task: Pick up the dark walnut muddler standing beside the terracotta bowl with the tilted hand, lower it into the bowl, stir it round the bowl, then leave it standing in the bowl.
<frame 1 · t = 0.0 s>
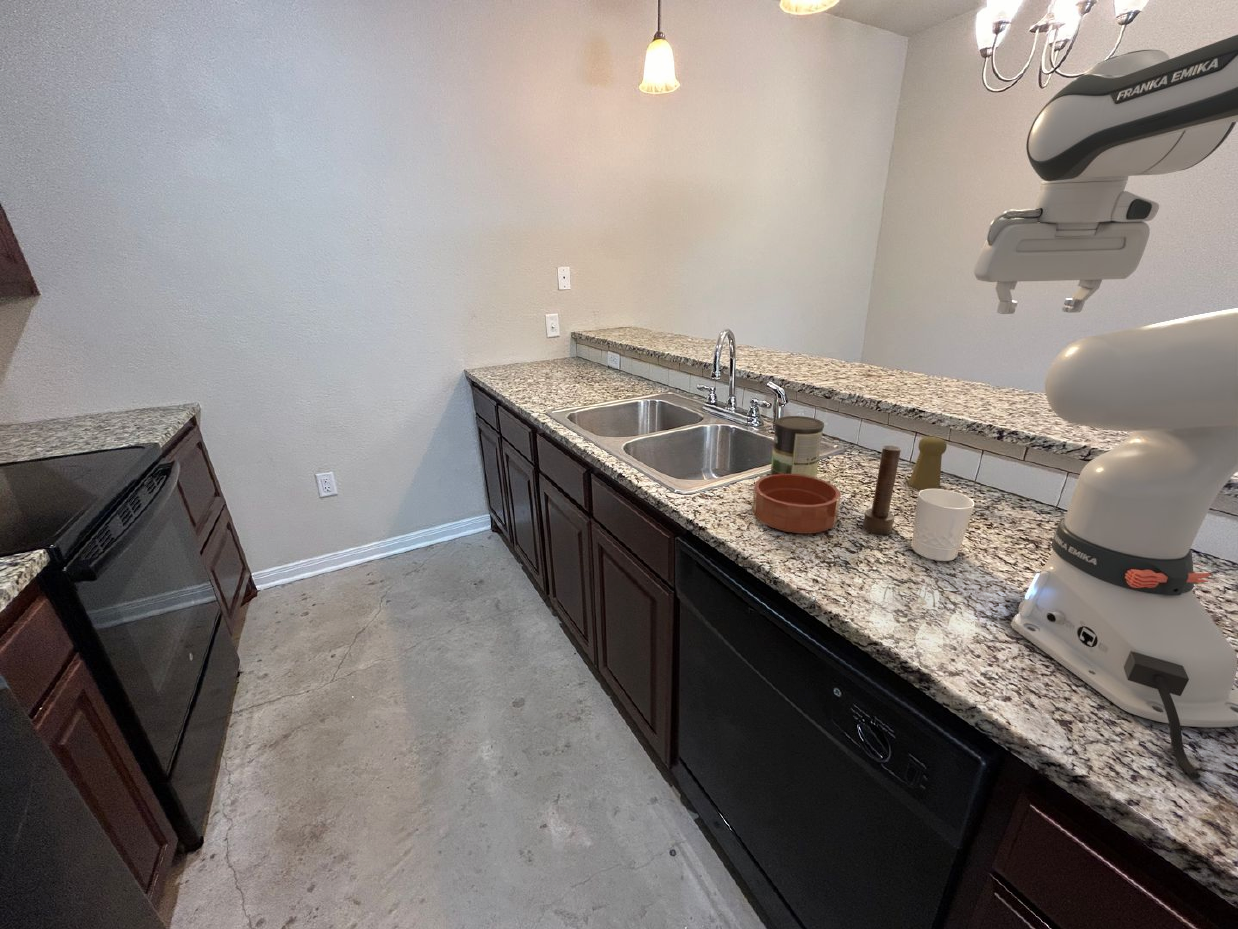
hand: (1037, 312, 74), 39 cm above the countertop, tool pointing down, fingers open, 8 cm apart
muddler: (876, 528, 93), on the countertop
bowl: (793, 516, 98), on the countertop
pepper grinder: (923, 486, 111), on the countertop
coffee can: (792, 481, 115), on the countertop
white cup: (933, 552, 85), on the countertop
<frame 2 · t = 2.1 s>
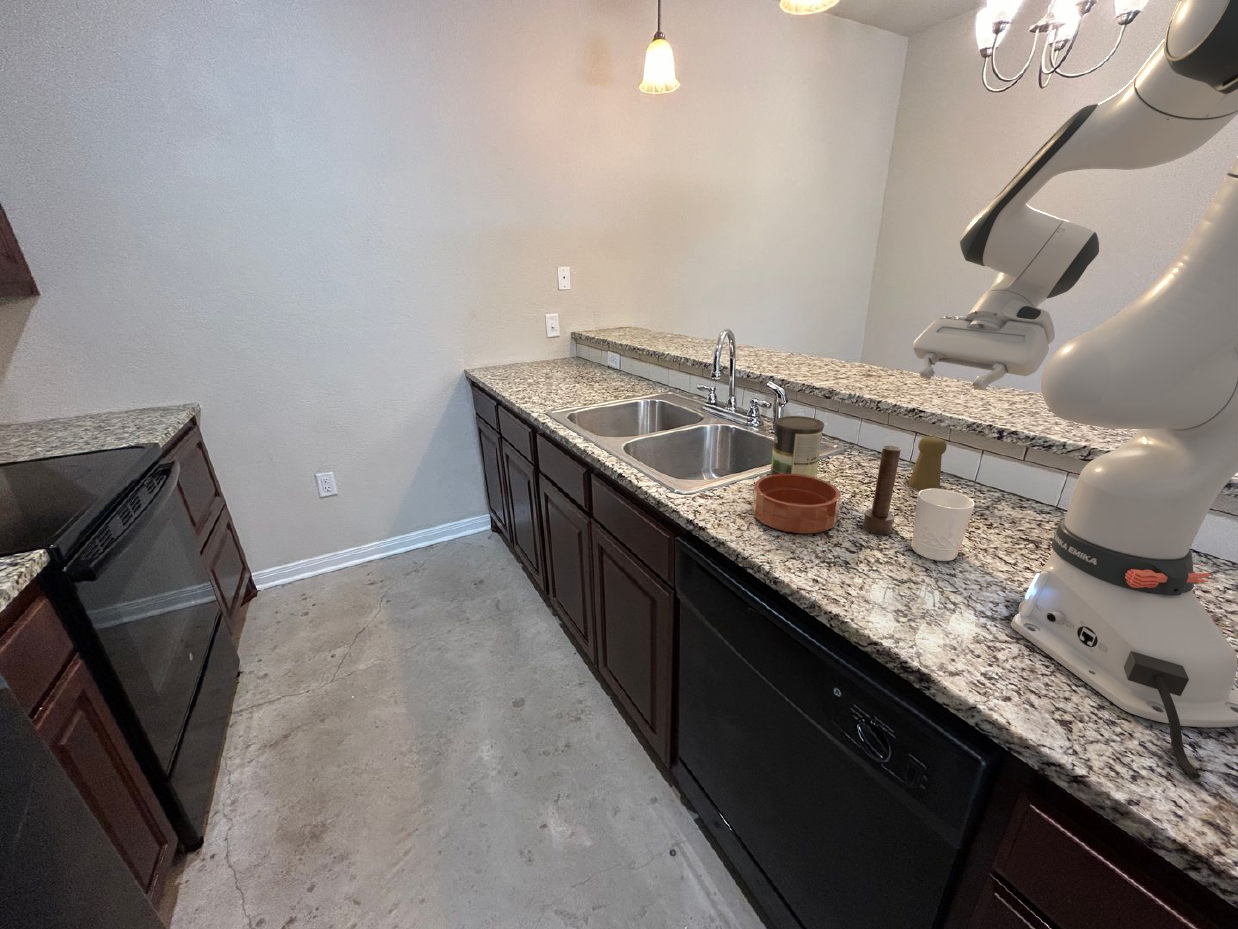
hand: (949, 382, 88), 26 cm above the countertop, tool tilted 45°, fingers open, 8 cm apart
nothing on the countertop moved.
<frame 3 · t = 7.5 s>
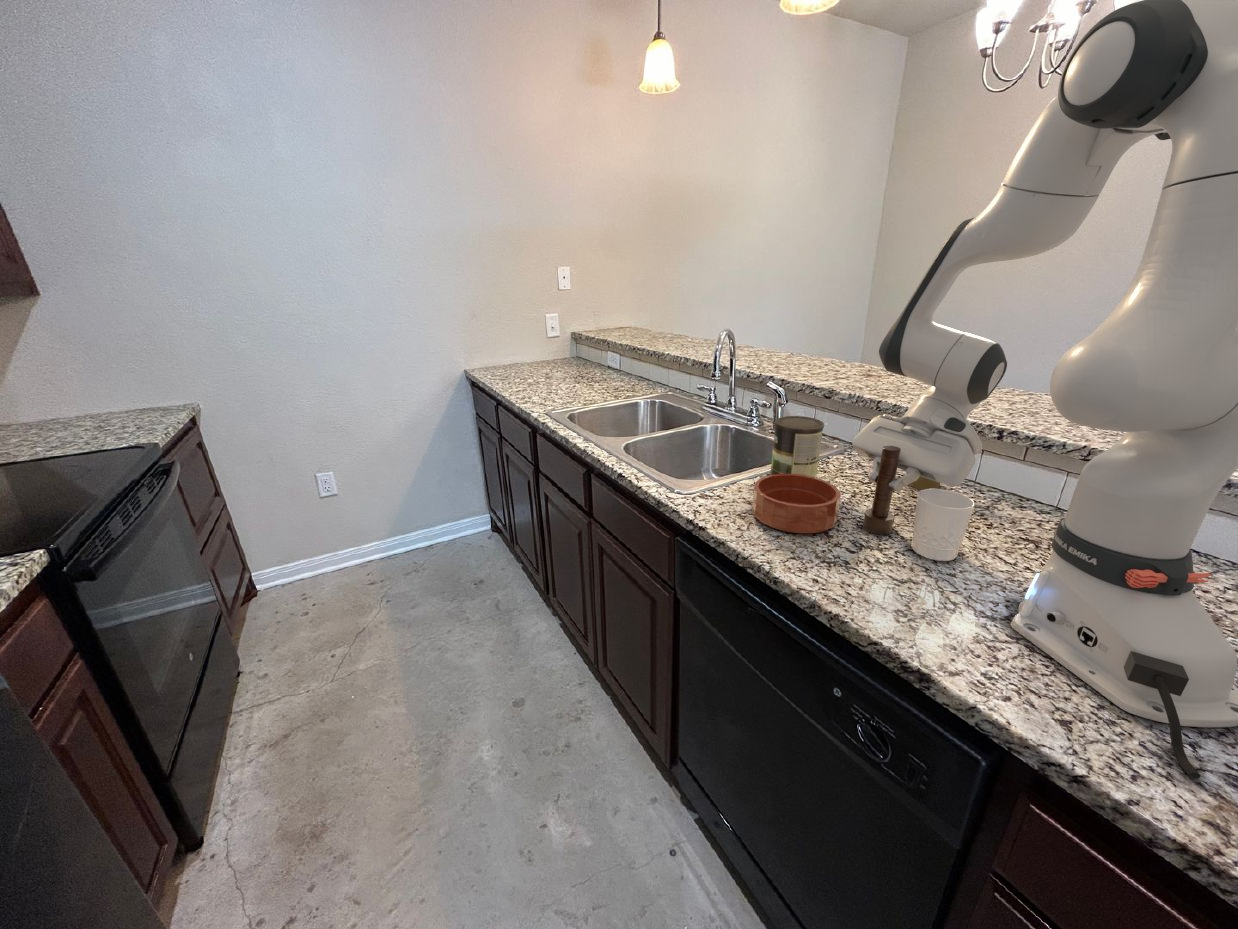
hand: (882, 485, 89), 9 cm above the countertop, tool tilted 45°, fingers closed on muddler, 3 cm apart
muddler: (876, 528, 93), on the countertop, touching gripper
everything else where it was.
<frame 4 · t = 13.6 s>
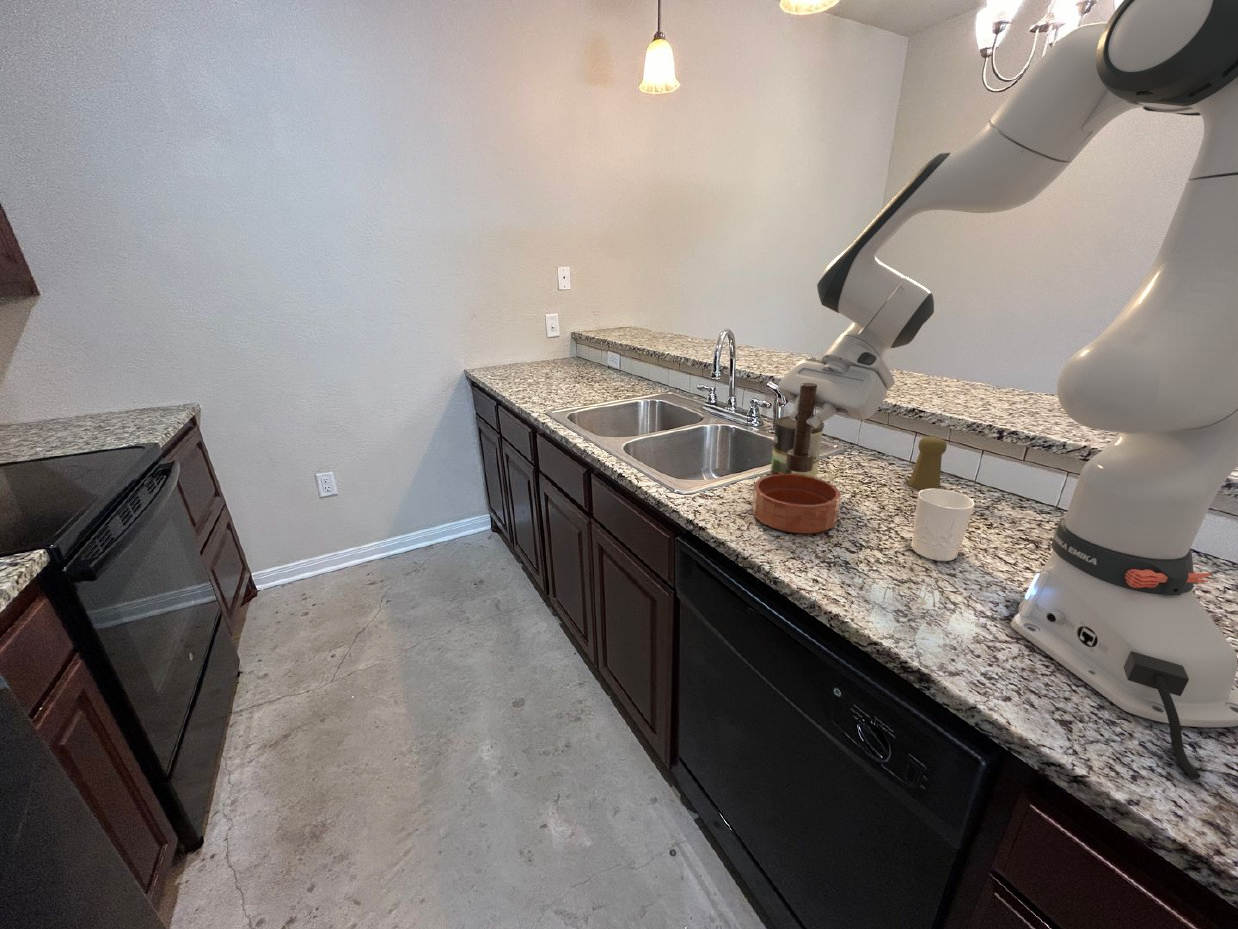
hand: (801, 422, 91), 19 cm above the countertop, tool tilted 45°, fingers closed on muddler, 3 cm apart
muddler: (799, 467, 95), point 10 cm above the countertop, touching gripper
everything else where it was.
when the fingers open (10 cm above the countertop, at t = 20.0 s): muddler stays where it is, resting on bowl.
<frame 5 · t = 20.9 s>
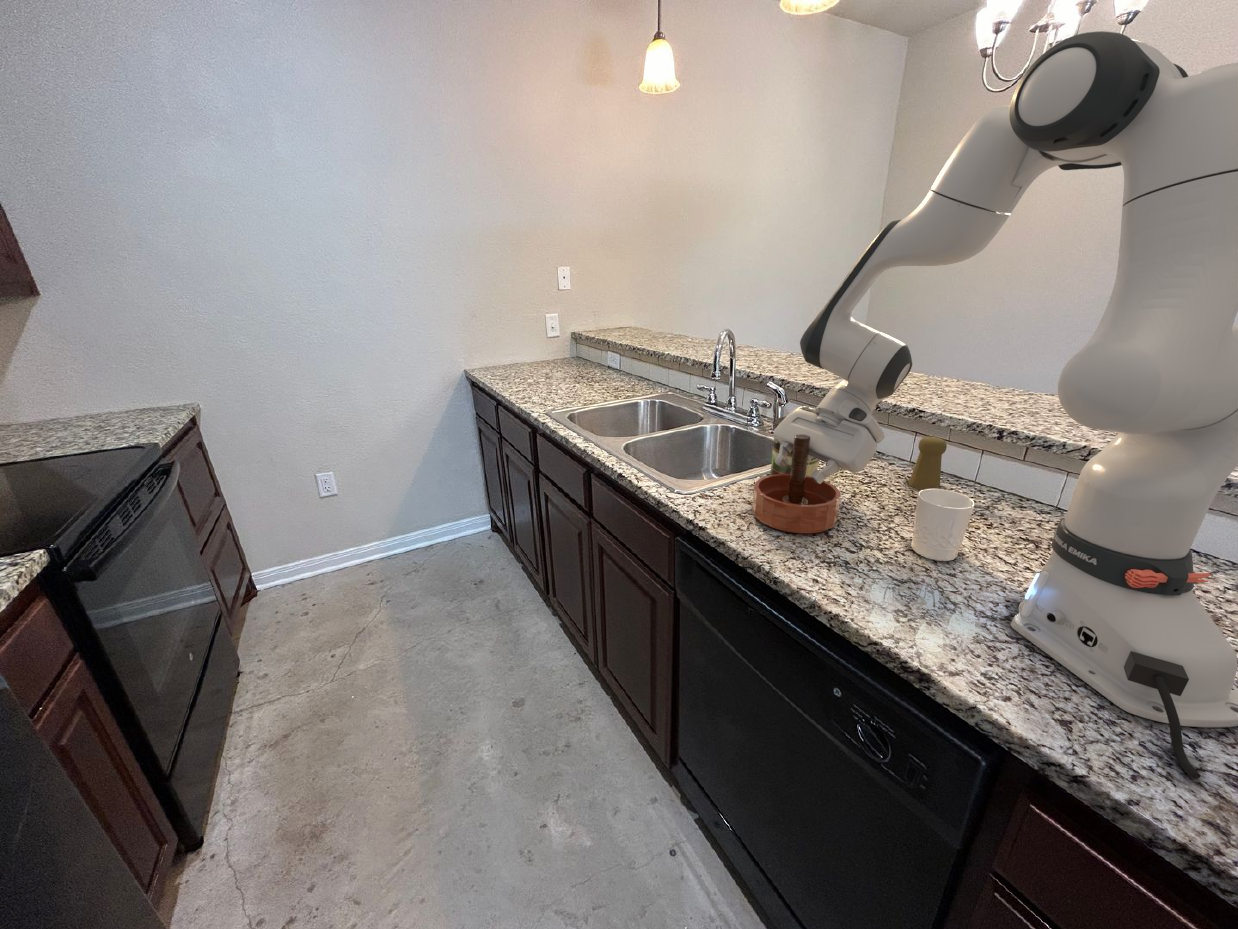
hand: (795, 472, 94), 10 cm above the countertop, tool tilted 45°, fingers open, 8 cm apart
muddler: (793, 513, 98), point 1 cm above the countertop, touching bowl
everything else where it was.
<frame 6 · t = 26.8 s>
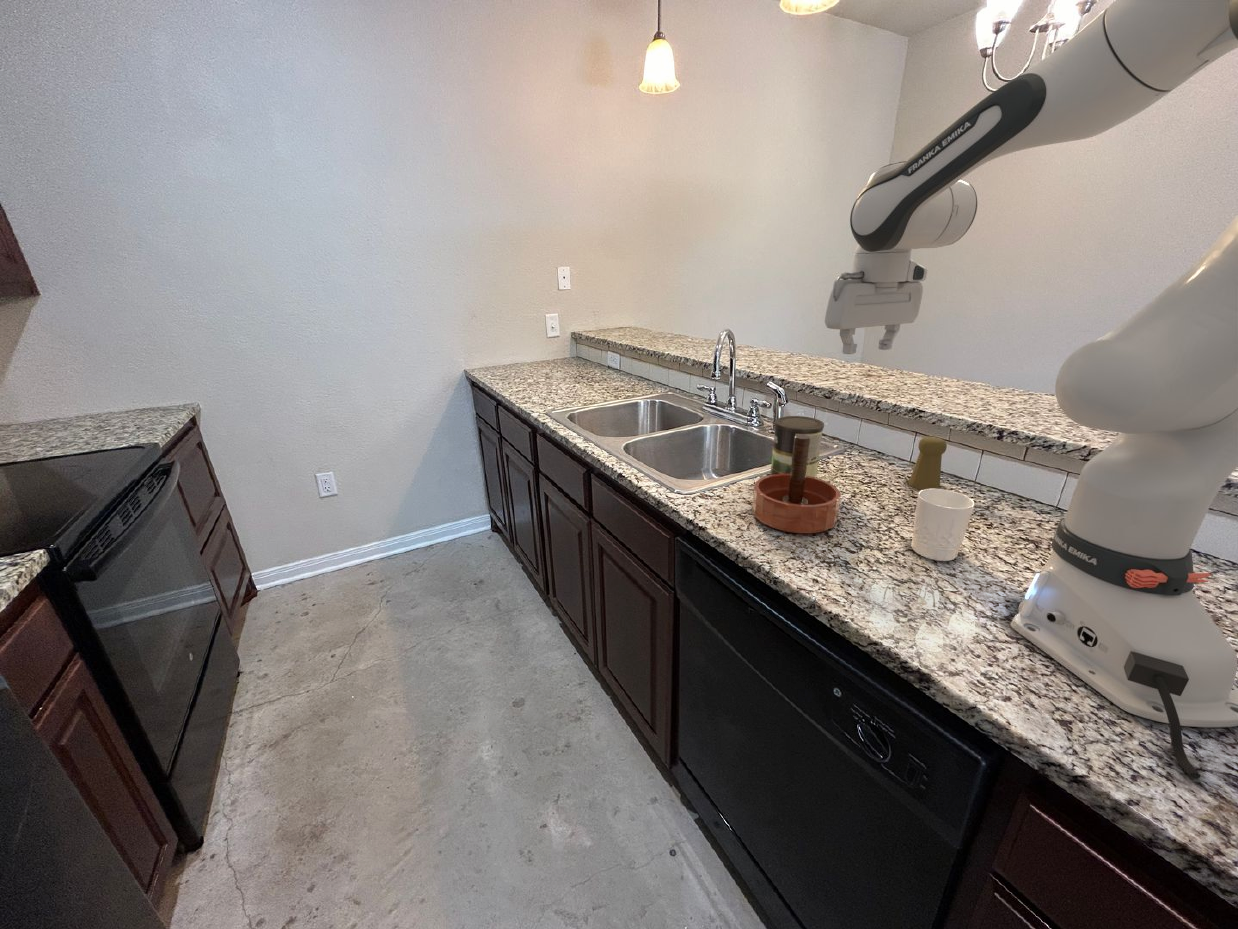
hand: (867, 351, 92), 31 cm above the countertop, tool pointing down, fingers open, 8 cm apart
nothing on the countertop moved.
at the end: muddler inside the target area in the bowl (0.1 cm from its centre), point 0.6 cm above the bowl's base; muddler tilted 0°; the gripper is holding nothing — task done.
